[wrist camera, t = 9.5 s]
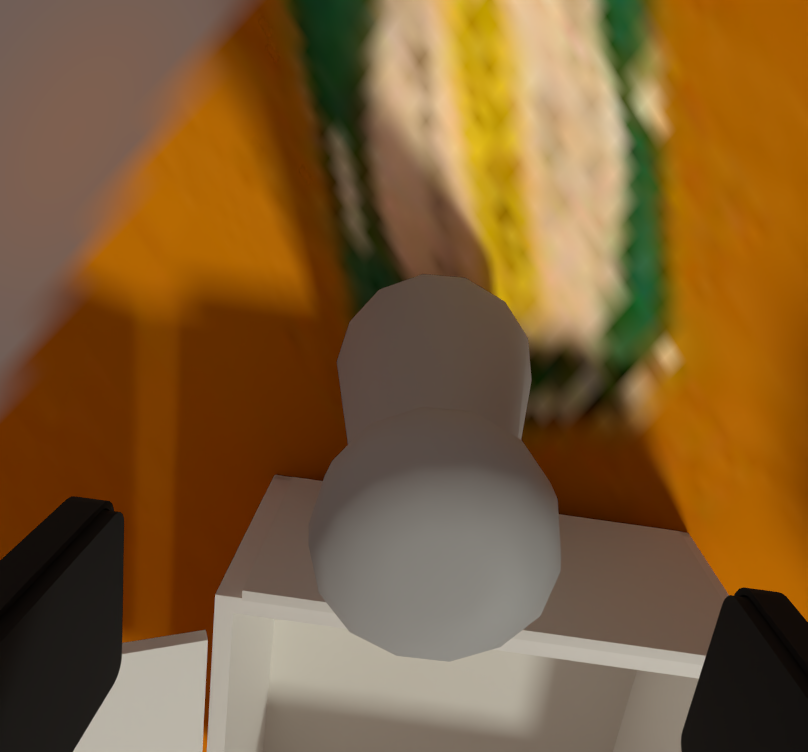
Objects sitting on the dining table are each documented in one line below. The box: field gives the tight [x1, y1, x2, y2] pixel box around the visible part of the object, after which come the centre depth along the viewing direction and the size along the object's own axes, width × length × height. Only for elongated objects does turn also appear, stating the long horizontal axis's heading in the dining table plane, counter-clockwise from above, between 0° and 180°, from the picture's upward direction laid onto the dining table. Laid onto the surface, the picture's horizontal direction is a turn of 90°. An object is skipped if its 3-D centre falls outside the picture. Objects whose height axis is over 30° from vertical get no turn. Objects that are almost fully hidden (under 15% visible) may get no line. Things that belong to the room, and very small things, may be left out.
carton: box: [207, 475, 729, 752], centre depth 24 cm, size 16×16×7 cm
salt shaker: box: [308, 274, 561, 662], centre depth 17 cm, size 6×6×13 cm
